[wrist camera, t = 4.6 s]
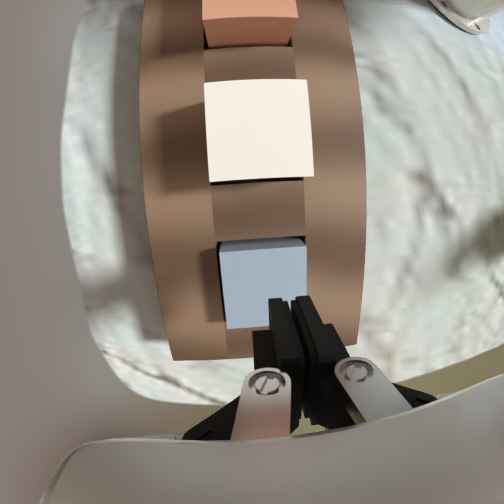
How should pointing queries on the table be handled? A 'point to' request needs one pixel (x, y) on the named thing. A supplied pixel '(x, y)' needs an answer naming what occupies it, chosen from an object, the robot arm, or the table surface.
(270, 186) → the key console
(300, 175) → the ivory key
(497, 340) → the table surface
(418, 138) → the table surface
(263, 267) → the slate key
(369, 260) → the table surface
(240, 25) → the terracotta key
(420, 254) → the table surface
